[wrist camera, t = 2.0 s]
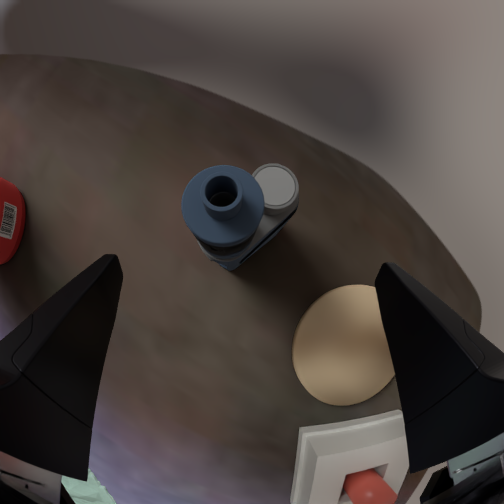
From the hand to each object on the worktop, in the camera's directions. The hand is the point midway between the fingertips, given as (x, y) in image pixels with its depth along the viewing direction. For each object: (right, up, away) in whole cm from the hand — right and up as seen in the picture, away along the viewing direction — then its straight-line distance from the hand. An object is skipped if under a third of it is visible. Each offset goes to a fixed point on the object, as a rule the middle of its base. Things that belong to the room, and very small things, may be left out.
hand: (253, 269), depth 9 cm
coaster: (+7, -6, +10) cm, 14 cm away
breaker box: (+8, -17, +8) cm, 21 cm away
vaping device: (-1, +1, +10) cm, 10 cm away
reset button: (+8, -17, +6) cm, 20 cm away
